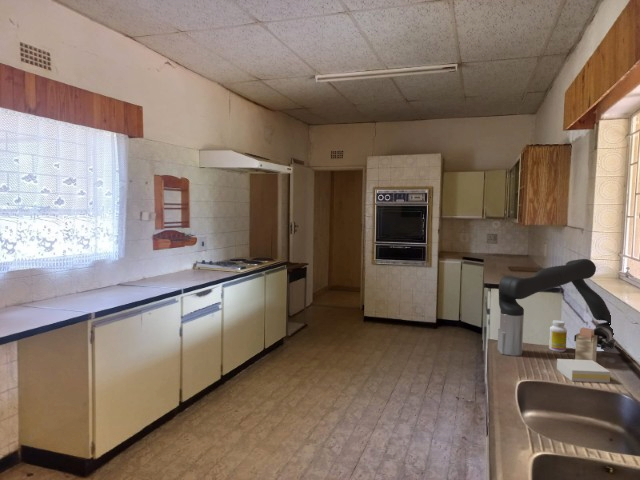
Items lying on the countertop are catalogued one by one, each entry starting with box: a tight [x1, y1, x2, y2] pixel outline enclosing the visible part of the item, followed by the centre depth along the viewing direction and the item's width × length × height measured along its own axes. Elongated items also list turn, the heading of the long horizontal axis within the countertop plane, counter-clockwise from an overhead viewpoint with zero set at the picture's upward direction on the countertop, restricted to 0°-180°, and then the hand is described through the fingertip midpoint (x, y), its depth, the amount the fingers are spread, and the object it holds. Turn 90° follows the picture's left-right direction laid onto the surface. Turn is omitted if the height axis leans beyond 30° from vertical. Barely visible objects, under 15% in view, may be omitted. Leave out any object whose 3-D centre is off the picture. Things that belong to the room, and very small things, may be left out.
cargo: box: [579, 327, 595, 341], centre depth 174 cm, size 4×4×4 cm
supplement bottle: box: [548, 319, 568, 353], centre depth 191 cm, size 7×7×13 cm
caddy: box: [574, 332, 598, 363], centre depth 174 cm, size 6×6×12 cm
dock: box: [556, 358, 611, 384], centre depth 161 cm, size 13×12×4 cm
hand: (589, 344), depth 179 cm, fingers open, 8 cm apart
